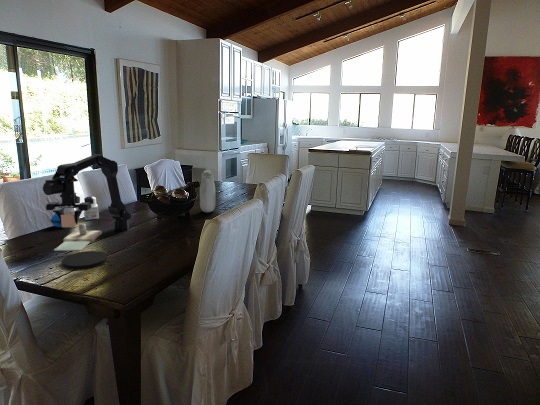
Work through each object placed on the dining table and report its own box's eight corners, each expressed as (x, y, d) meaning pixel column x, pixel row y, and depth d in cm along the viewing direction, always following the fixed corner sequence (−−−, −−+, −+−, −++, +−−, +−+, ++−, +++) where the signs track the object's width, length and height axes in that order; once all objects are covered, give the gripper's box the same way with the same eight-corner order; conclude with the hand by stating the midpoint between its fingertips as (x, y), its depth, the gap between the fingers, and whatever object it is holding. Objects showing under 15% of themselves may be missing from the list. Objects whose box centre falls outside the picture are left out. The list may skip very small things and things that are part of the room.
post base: (101, 233, 208) (100, 220, 206) (92, 241, 194) (91, 228, 193) (74, 233, 207) (73, 220, 205) (63, 241, 193) (62, 228, 191)
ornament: (52, 225, 219) (51, 208, 217) (69, 224, 222) (68, 207, 220) (51, 229, 211) (49, 212, 209) (68, 228, 215) (67, 211, 213)
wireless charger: (60, 272, 157) (60, 268, 157) (64, 257, 173) (63, 253, 173) (107, 267, 164) (107, 262, 164) (107, 253, 180) (106, 249, 180)
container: (85, 219, 232) (83, 198, 229) (84, 216, 239) (82, 196, 236) (99, 218, 236) (97, 197, 233) (98, 215, 242) (96, 195, 240)
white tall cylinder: (214, 214, 253) (213, 171, 247) (198, 213, 253) (198, 171, 247) (216, 210, 263) (216, 169, 256) (201, 210, 263) (201, 169, 257)
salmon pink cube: (74, 227, 182) (73, 215, 181) (61, 227, 182) (60, 214, 181) (78, 224, 188) (77, 212, 187) (66, 224, 187) (65, 212, 186)
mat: (89, 242, 193) (89, 241, 193) (80, 250, 182) (80, 249, 182) (64, 242, 192) (64, 241, 192) (54, 250, 180) (53, 249, 180)
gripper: (94, 188, 190) (96, 219, 193) (54, 188, 188) (57, 219, 192) (85, 193, 179) (88, 225, 183) (43, 192, 177) (46, 225, 181)
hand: (70, 223), depth 185 cm, fingers closed on salmon pink cube, 6 cm apart
